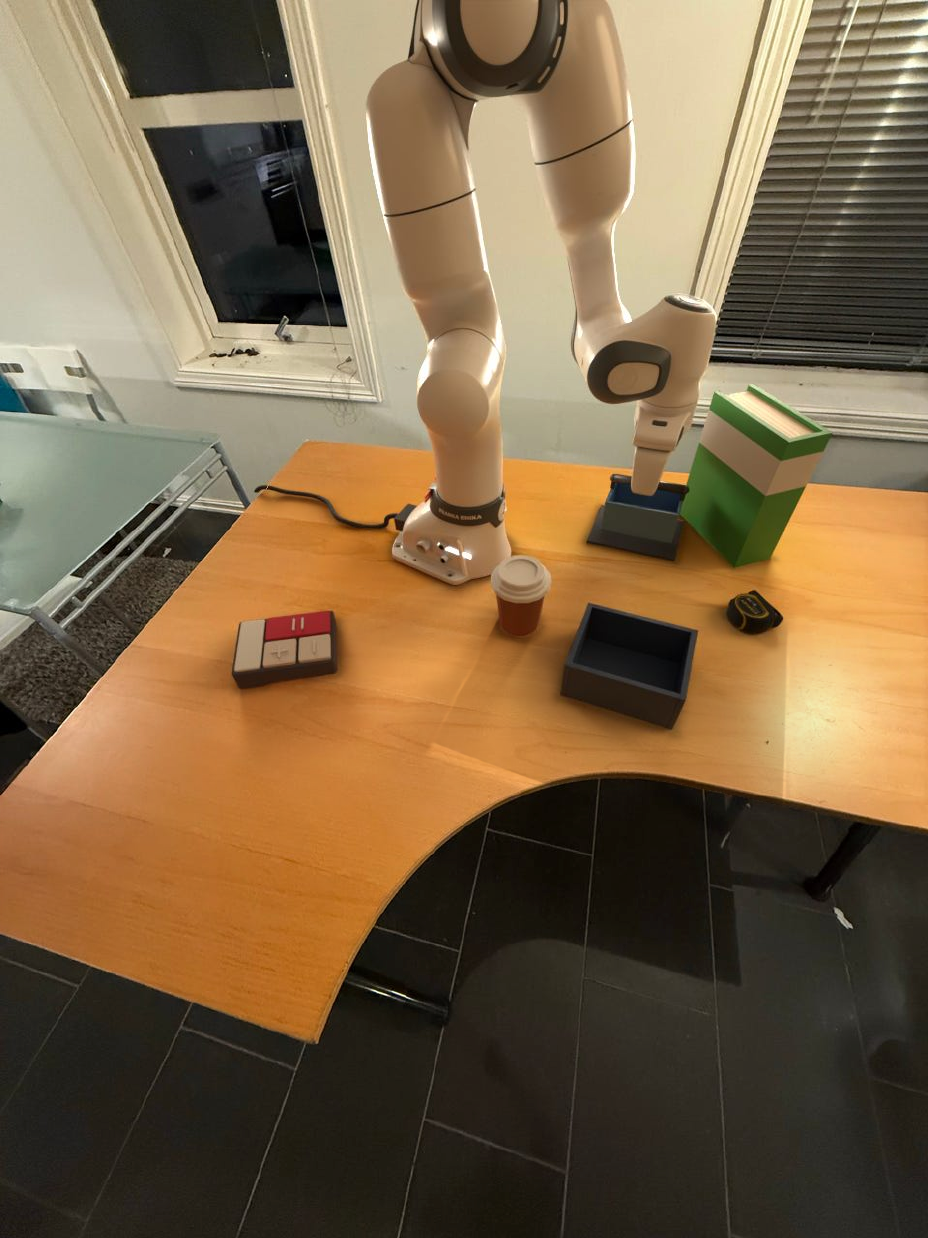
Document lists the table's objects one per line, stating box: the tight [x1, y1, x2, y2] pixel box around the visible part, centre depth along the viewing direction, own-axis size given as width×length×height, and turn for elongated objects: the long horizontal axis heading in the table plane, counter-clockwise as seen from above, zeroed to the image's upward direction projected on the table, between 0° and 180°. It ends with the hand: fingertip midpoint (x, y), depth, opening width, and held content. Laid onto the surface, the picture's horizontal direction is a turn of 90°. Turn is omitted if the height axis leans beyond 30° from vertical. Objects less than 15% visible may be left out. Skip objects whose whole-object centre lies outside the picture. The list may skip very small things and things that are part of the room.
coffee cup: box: [490, 554, 552, 638], centre depth 81 cm, size 9×9×12 cm
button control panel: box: [231, 610, 338, 690], centre depth 83 cm, size 11×4×15 cm
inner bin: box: [601, 473, 690, 543], centre depth 95 cm, size 14×10×9 cm
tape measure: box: [725, 589, 784, 635], centre depth 82 cm, size 7×7×4 cm
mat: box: [586, 504, 685, 563], centre depth 100 cm, size 16×12×1 cm
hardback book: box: [680, 383, 834, 569], centre depth 90 cm, size 18×7×24 cm, turn 17°
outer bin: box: [559, 602, 699, 731], centre depth 75 cm, size 16×13×8 cm
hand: (647, 488), depth 93 cm, fingers closed on inner bin
